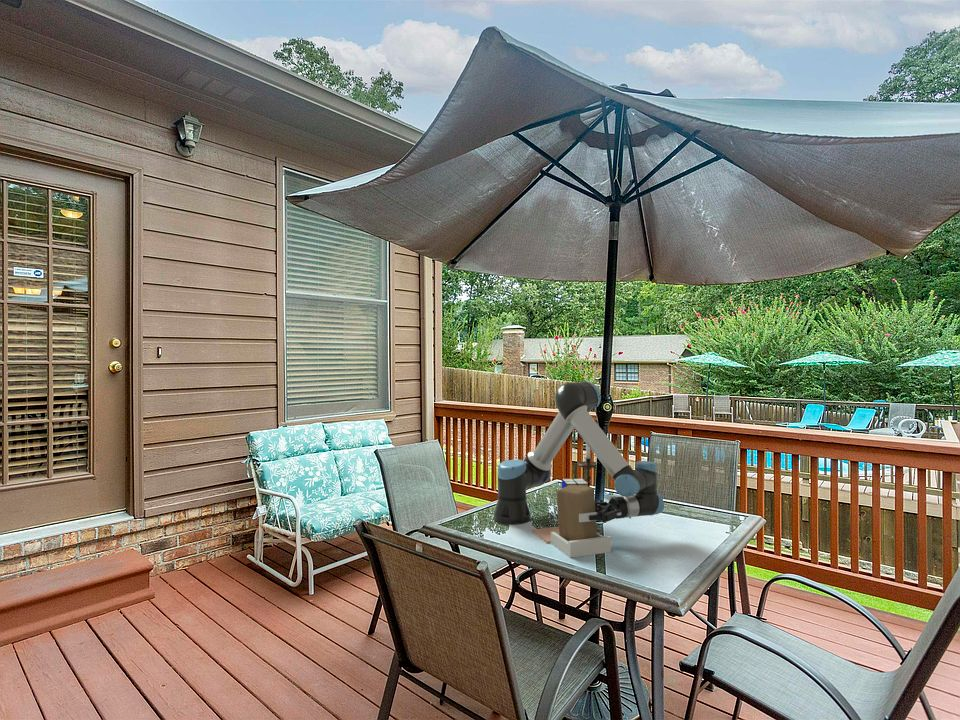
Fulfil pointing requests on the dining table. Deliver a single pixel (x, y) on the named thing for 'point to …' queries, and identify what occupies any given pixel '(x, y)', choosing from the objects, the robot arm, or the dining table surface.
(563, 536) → the wooden block
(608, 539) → the lane rack
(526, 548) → the dining table surface
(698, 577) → the dining table surface
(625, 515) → the robot arm
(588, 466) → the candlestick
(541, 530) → the terracotta mat
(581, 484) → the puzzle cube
